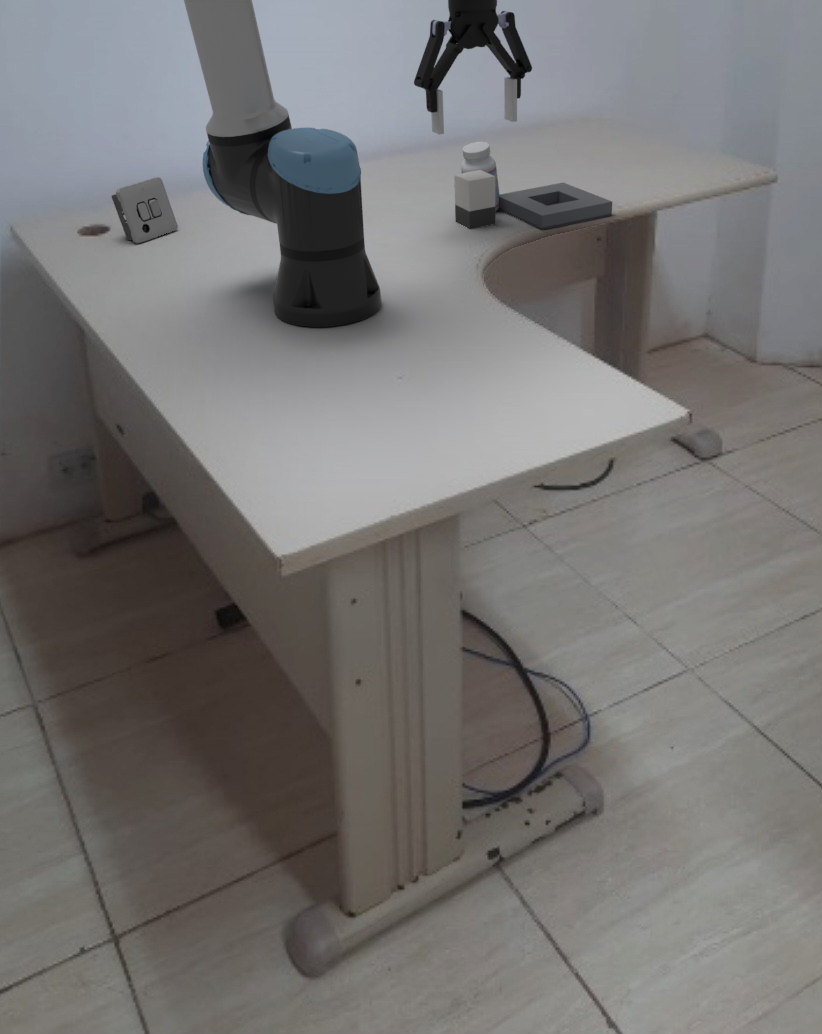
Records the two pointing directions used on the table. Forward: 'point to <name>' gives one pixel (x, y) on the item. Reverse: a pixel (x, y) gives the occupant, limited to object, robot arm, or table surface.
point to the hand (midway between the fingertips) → (474, 126)
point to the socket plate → (554, 205)
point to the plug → (475, 199)
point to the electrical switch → (144, 210)
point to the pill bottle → (480, 163)
